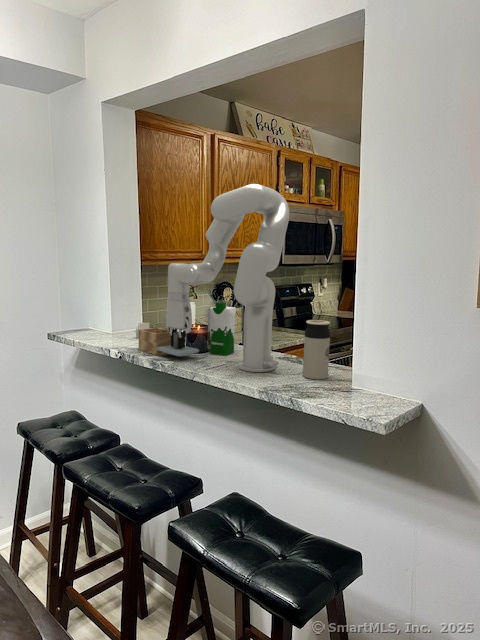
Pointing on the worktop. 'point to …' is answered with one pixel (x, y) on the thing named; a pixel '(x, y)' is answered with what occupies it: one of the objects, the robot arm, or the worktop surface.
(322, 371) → the travel mug
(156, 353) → the box
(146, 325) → the architectural model
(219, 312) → the milk carton
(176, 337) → the lid
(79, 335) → the worktop surface
